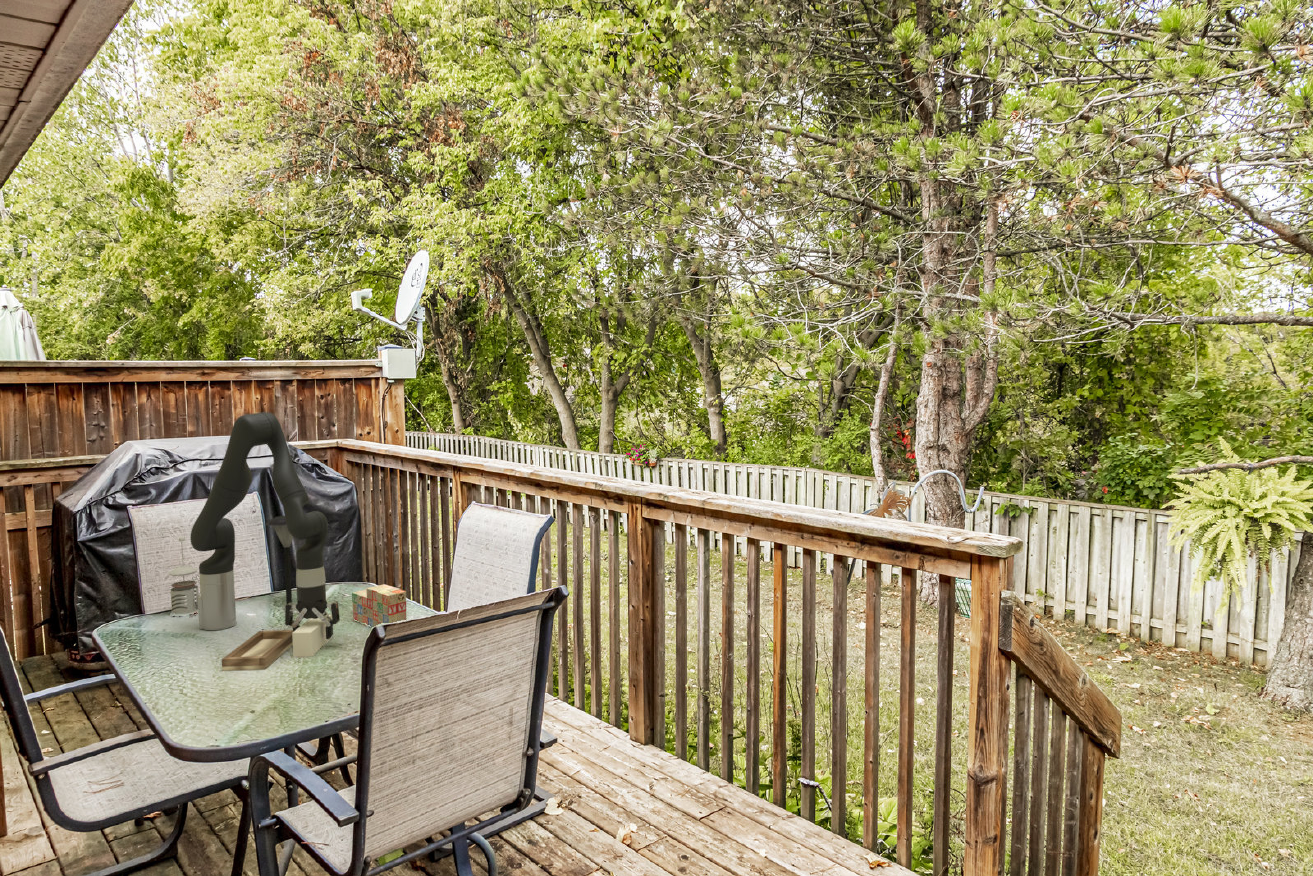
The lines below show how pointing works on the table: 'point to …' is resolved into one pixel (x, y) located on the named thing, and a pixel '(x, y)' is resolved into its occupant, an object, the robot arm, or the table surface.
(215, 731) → the table surface
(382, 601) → the stack of blocks
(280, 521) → the solar garden light
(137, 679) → the table surface
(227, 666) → the wooden serving tray
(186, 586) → the french press
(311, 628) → the block
